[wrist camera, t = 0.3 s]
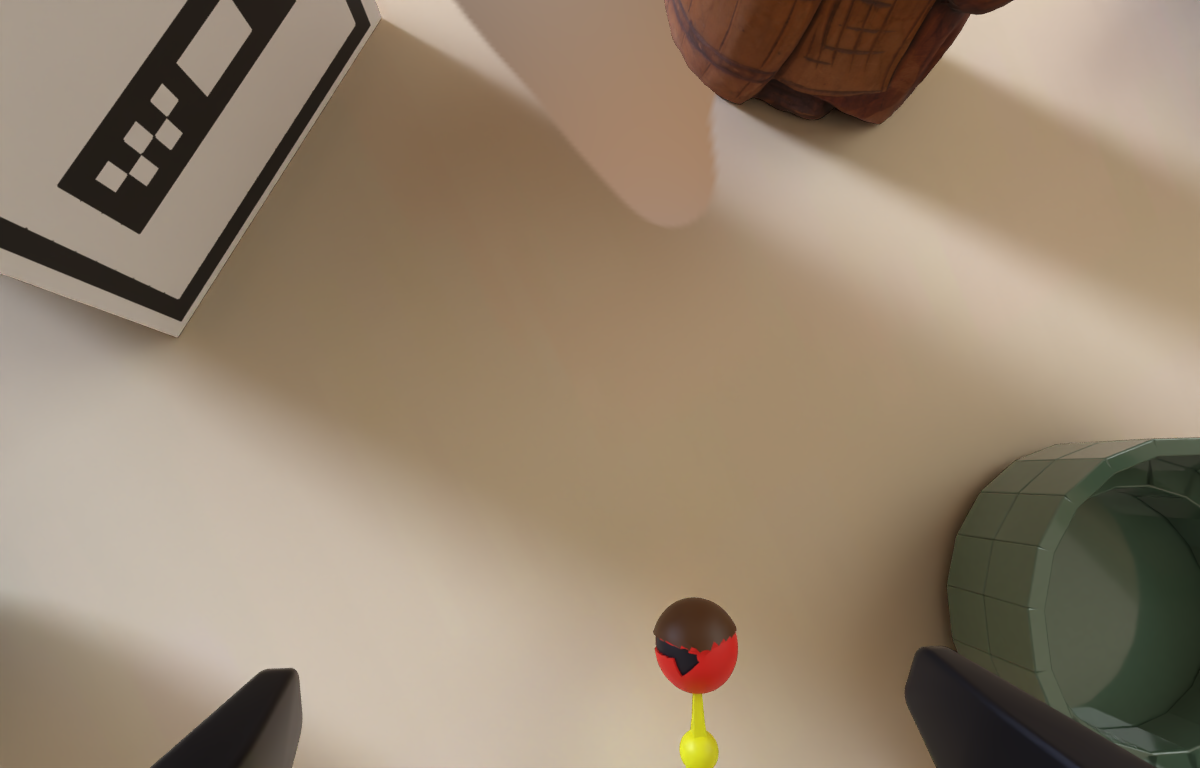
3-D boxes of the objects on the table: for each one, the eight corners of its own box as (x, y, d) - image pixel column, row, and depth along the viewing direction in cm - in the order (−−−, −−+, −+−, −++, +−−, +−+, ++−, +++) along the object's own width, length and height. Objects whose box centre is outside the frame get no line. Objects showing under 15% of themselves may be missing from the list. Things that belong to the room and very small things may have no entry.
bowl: (1293, 627, 24) (1458, 661, 20) (1087, 843, 23) (1218, 934, 18) (1091, 384, 25) (1206, 365, 21) (876, 574, 23) (951, 598, 19)
